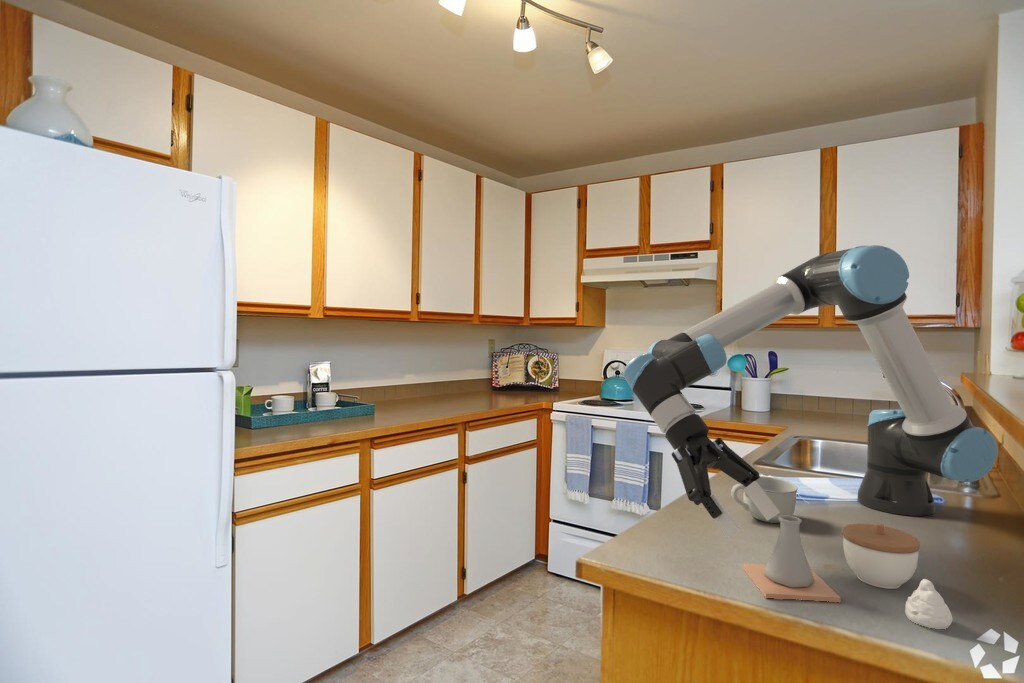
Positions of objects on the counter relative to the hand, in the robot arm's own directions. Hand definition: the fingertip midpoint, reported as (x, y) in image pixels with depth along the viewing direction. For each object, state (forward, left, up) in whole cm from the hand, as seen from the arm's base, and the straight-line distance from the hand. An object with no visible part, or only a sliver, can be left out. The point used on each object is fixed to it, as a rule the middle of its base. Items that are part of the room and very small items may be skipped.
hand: (754, 524), depth 96 cm
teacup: (-11, -29, -8) cm, 32 cm away
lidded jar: (-20, +1, -8) cm, 22 cm away
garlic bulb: (-20, +14, -8) cm, 25 cm away
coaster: (-4, +4, -8) cm, 10 cm away
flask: (-4, +4, -8) cm, 9 cm away
